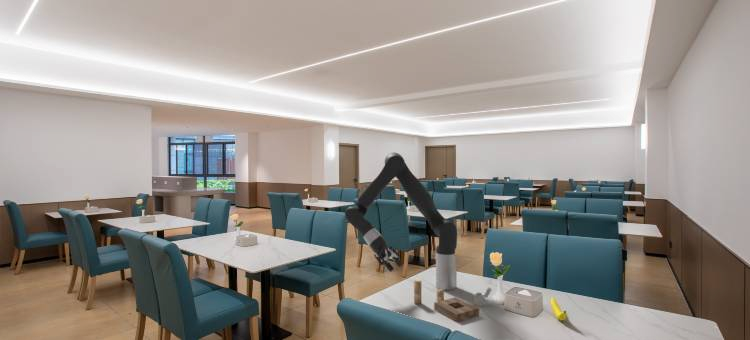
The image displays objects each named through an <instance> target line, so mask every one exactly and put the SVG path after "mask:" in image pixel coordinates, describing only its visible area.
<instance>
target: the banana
mask: <svg viewBox="0 0 750 340" xmlns="http://www.w3.org/2000/svg"><path fill="white" fill-rule="evenodd" d="M550 304H551V308H552V311H553V313H554V315H555V317H556V319H557V320H559V321H565V320H566V319H567V317H568V314H567V311H566V310H563V311H562V309H561V308H560V305H559V304H558V302H557V300H556V299H555V298H554V296H552V297H551V303H550Z"/></svg>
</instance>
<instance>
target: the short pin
mask: <svg viewBox="0 0 750 340" xmlns="http://www.w3.org/2000/svg"><path fill="white" fill-rule="evenodd" d="M443 300H445V290H443V289H438V288H437V289H436V302H438V301H443Z"/></svg>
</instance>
